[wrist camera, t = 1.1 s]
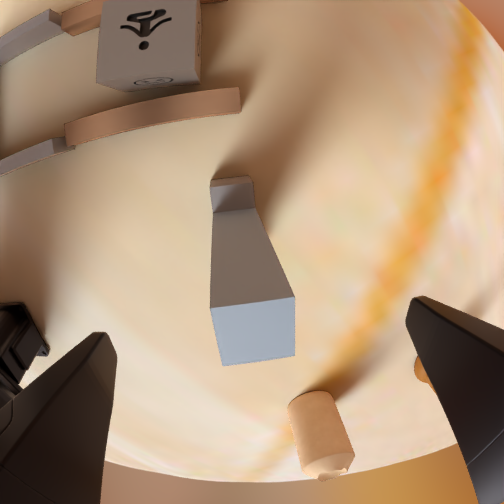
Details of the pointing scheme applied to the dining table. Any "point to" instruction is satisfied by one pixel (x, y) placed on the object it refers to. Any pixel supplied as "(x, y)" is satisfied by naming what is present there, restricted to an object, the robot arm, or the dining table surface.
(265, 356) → the grey notched beam
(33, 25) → the box
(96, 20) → the slot rails
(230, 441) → the dining table surface
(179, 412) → the dining table surface
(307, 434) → the candle
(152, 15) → the dice cube
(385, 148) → the dining table surface
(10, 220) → the dining table surface
